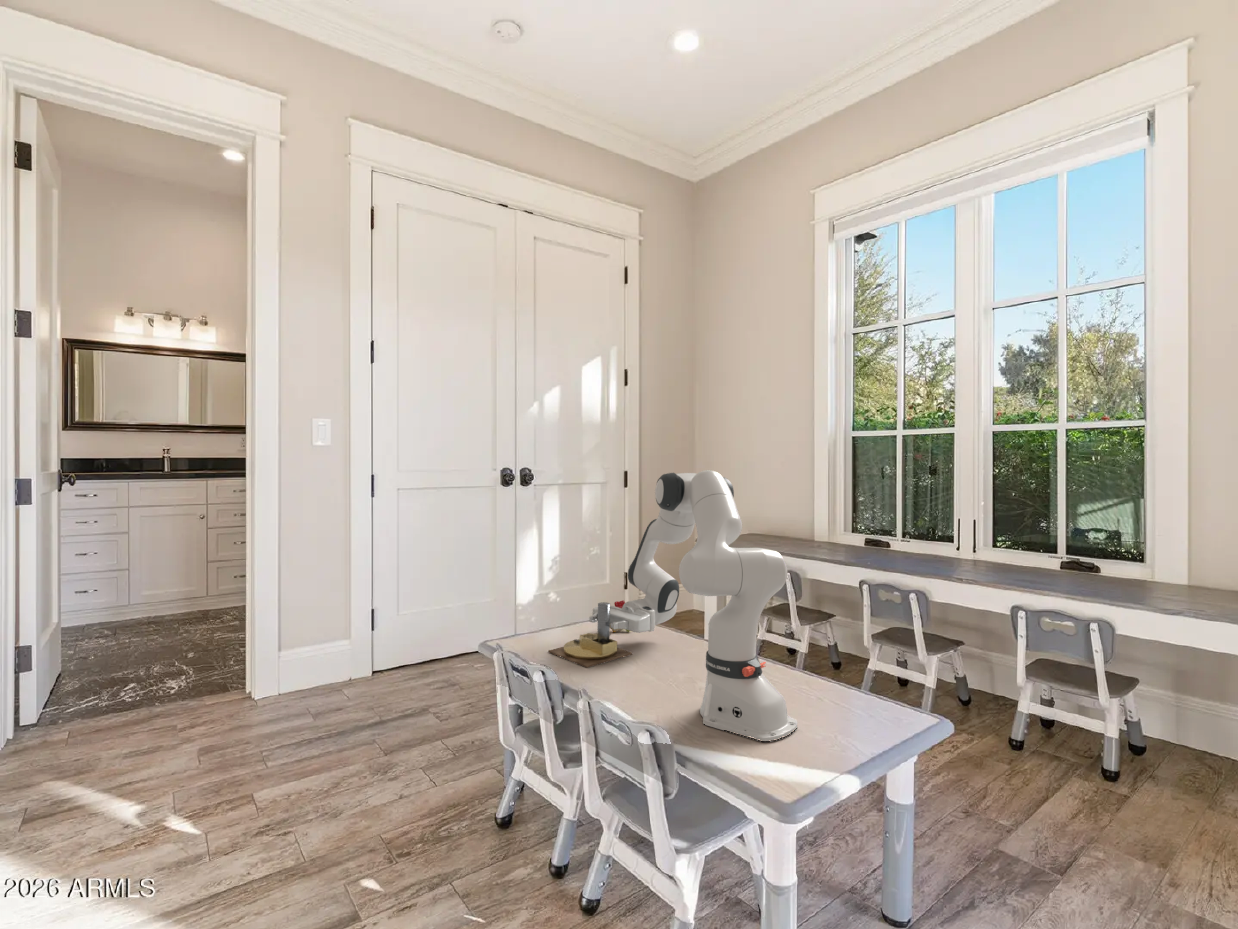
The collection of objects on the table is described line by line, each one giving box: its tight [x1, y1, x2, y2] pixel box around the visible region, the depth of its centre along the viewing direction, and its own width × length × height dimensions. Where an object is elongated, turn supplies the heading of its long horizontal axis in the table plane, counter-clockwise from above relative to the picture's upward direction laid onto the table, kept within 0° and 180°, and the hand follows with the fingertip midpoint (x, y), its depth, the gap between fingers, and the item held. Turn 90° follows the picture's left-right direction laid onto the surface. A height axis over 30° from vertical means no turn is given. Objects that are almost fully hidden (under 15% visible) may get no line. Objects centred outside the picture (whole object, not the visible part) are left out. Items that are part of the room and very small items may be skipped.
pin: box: [596, 601, 611, 644], centre depth 185 cm, size 4×4×14 cm
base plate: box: [547, 646, 633, 669], centre depth 189 cm, size 18×18×1 cm
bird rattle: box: [610, 600, 630, 633], centre depth 213 cm, size 6×11×9 cm
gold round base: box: [563, 632, 618, 660], centre depth 189 cm, size 17×16×4 cm
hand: (601, 622), depth 184 cm, fingers open, 8 cm apart
